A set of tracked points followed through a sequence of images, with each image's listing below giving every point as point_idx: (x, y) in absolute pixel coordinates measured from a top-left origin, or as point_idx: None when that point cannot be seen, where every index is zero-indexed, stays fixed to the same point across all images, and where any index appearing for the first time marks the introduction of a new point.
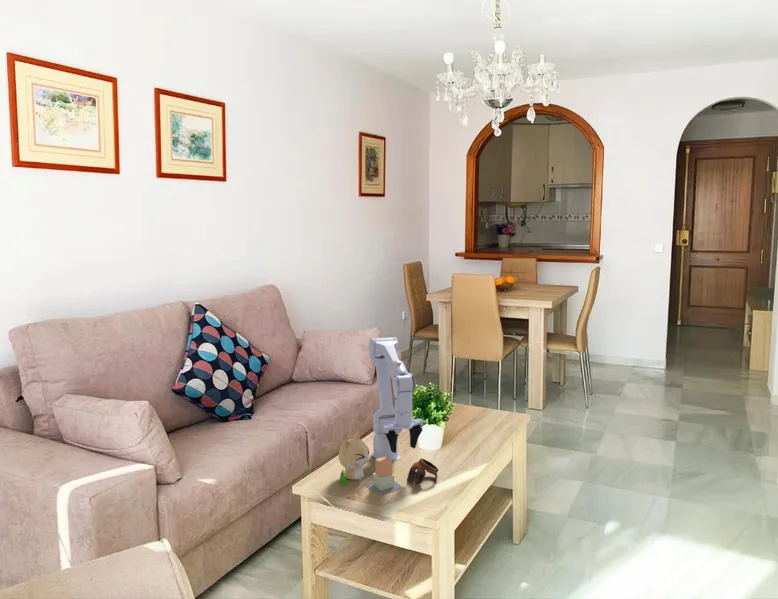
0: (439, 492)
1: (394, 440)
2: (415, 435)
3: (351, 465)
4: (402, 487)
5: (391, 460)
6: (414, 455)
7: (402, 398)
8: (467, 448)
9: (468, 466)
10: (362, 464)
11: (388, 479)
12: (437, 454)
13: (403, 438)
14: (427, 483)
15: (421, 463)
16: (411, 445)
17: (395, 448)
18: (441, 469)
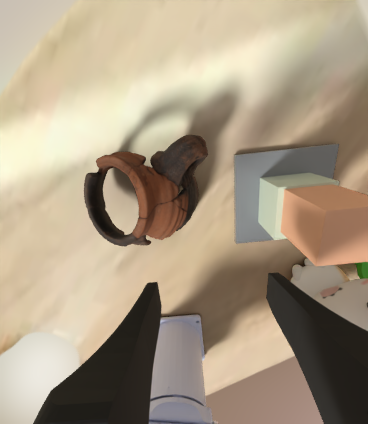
0: (137, 75)
1: (353, 332)
2: (135, 354)
3: None
4: (239, 162)
5: (327, 216)
6: (106, 326)
7: None
8: None
9: None
10: (350, 284)
11: (298, 182)
12: (44, 312)
13: None
14: (145, 164)
15: (151, 198)
16: (159, 306)
17: (289, 286)
18: (64, 233)
